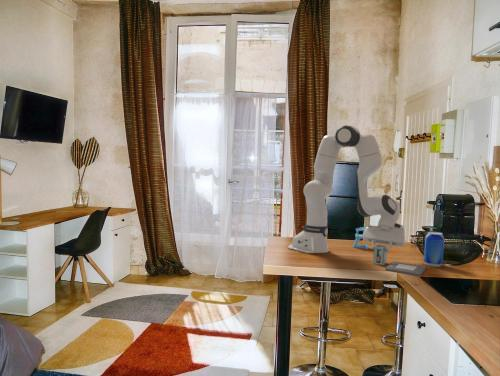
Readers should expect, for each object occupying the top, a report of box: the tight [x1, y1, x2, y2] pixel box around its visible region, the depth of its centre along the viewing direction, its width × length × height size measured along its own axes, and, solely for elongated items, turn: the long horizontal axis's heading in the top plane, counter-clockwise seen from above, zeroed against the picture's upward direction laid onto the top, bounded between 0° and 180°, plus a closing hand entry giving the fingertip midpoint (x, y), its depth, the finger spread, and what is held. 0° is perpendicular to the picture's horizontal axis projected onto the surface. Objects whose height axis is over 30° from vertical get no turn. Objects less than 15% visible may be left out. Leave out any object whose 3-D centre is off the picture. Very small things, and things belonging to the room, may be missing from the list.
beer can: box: [423, 231, 445, 268], centre depth 193 cm, size 8×8×16 cm
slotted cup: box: [372, 244, 388, 266], centre depth 193 cm, size 5×5×8 cm
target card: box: [385, 260, 427, 277], centre depth 183 cm, size 15×16×1 cm
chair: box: [352, 226, 369, 250], centre depth 228 cm, size 8×8×12 cm
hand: (380, 249), depth 192 cm, fingers closed on slotted cup, 5 cm apart
